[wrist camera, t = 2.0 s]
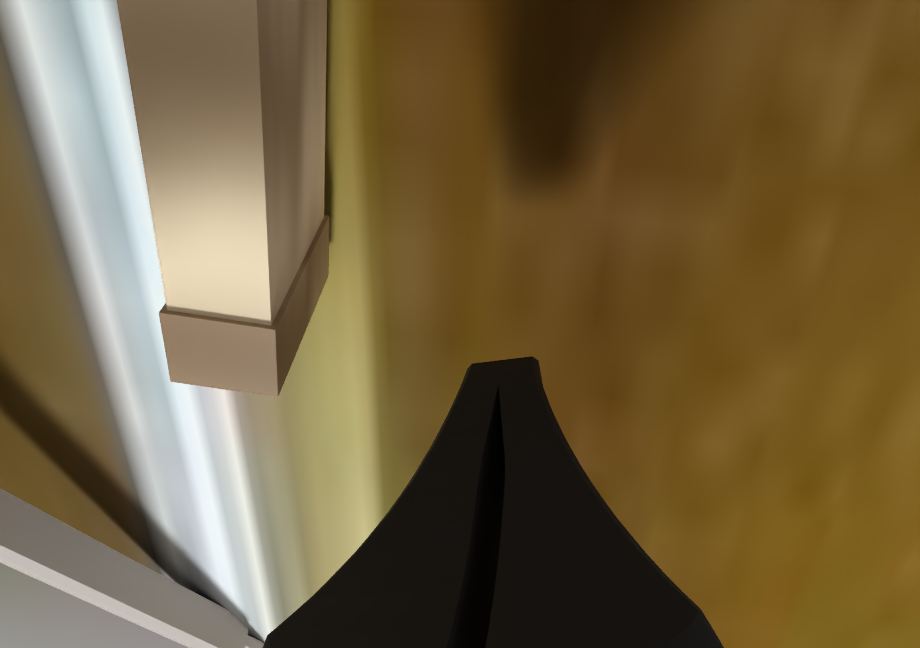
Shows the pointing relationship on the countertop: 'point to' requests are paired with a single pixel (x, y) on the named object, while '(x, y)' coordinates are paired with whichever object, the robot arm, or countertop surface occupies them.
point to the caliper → (112, 579)
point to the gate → (233, 178)
